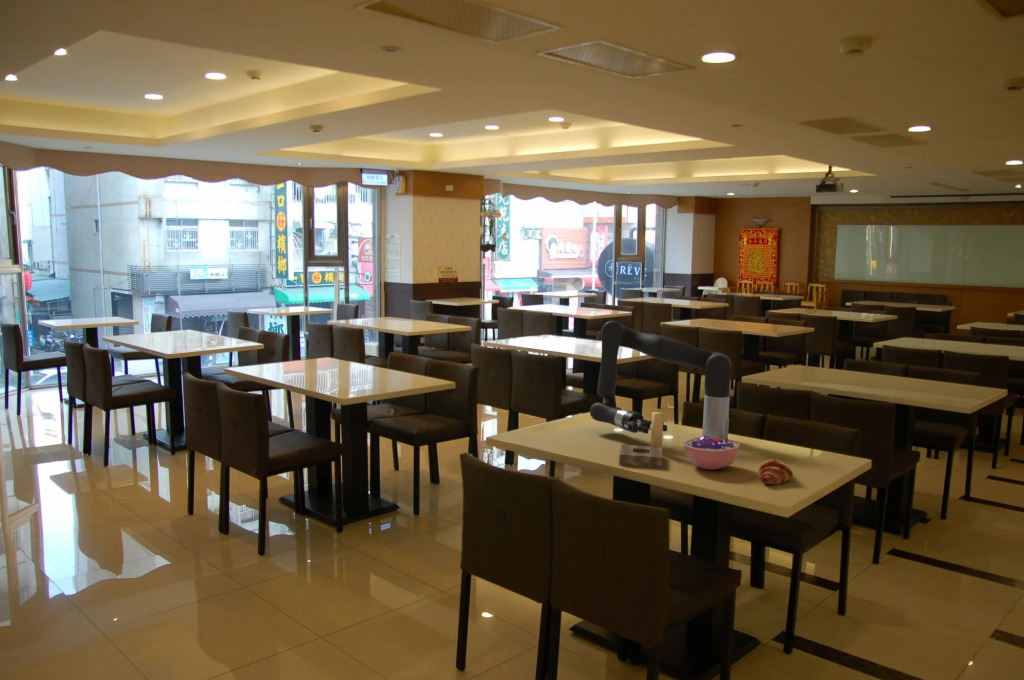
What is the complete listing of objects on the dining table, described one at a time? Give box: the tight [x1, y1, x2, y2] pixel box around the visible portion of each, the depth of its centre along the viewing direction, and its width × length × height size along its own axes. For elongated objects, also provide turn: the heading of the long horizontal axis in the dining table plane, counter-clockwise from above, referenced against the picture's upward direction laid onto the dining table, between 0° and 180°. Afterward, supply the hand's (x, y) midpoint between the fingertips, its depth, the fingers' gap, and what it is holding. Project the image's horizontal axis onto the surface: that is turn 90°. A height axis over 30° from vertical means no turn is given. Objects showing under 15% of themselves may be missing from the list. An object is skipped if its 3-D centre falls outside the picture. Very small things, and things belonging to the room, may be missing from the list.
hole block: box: [618, 444, 663, 469], centre depth 259 cm, size 14×14×4 cm
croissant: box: [758, 459, 794, 486], centre depth 242 cm, size 21×10×8 cm, turn 147°
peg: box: [650, 411, 664, 448], centre depth 271 cm, size 4×4×14 cm
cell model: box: [682, 435, 741, 471], centre depth 253 cm, size 17×20×11 cm
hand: (657, 429), depth 271 cm, fingers open, 8 cm apart
